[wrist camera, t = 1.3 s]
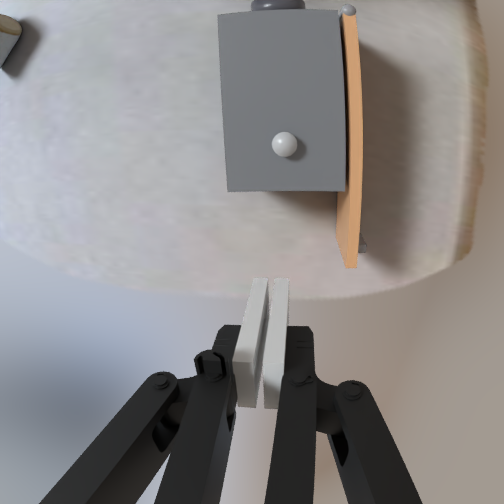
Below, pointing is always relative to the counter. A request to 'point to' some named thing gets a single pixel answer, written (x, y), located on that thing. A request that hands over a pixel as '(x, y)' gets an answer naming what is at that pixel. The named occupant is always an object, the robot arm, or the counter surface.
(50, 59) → the counter surface
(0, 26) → the ceramic mug
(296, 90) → the camera housing
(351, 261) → the door
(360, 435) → the robot arm
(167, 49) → the counter surface
